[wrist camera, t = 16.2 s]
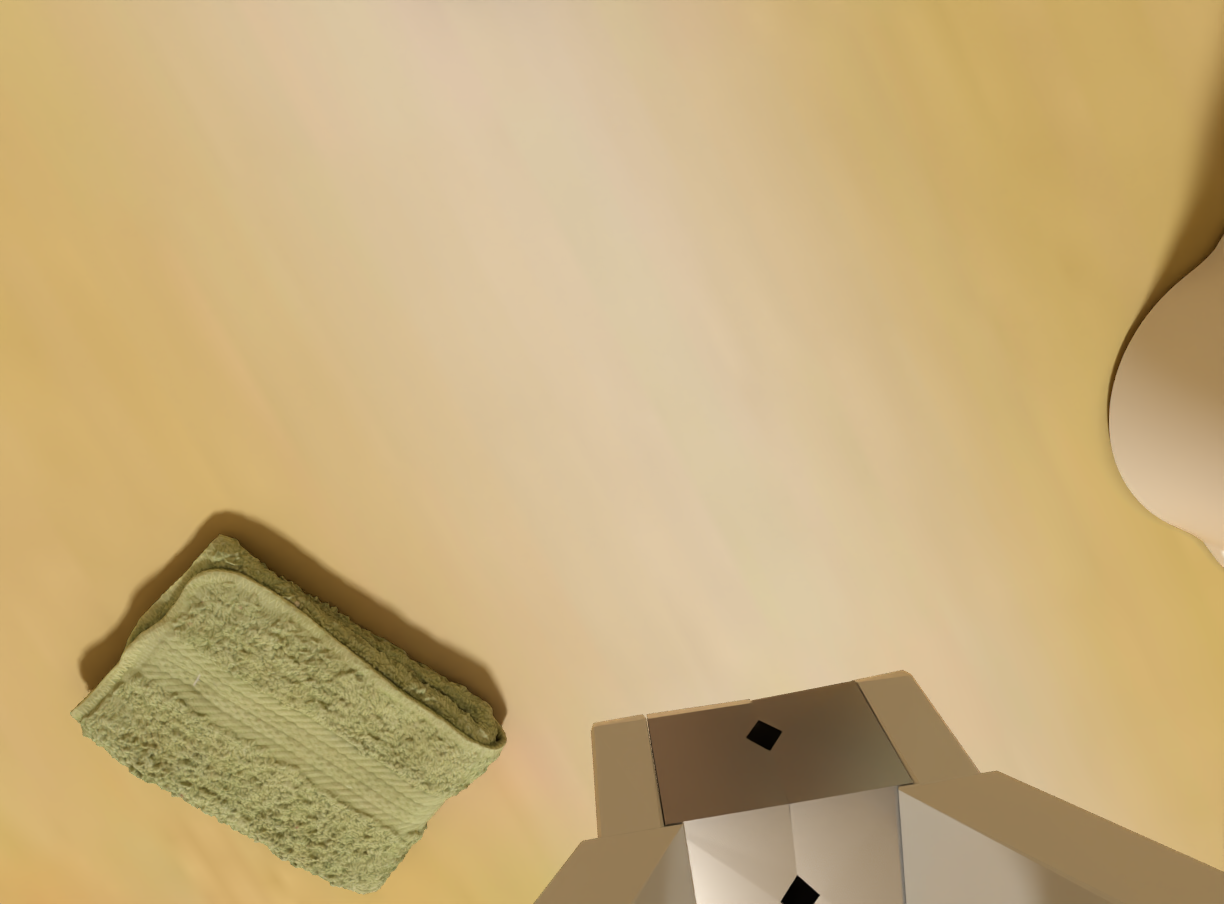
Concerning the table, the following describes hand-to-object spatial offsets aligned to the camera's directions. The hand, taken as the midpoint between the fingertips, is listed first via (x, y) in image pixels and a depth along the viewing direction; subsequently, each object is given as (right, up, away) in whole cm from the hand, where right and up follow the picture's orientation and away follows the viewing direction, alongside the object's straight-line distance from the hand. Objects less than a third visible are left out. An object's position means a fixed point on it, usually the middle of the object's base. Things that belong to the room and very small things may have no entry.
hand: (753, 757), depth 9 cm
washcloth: (-17, -10, +39) cm, 43 cm away
